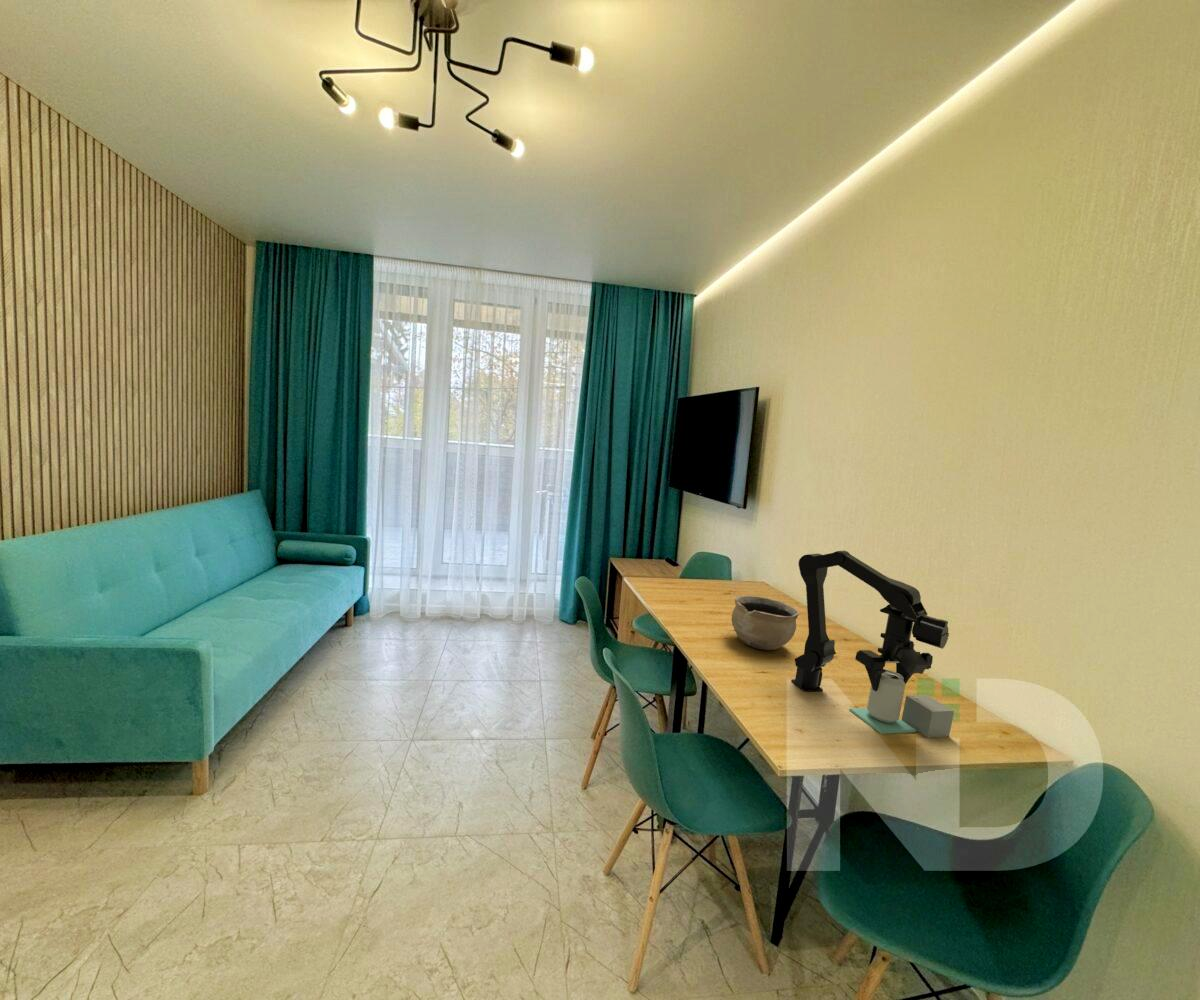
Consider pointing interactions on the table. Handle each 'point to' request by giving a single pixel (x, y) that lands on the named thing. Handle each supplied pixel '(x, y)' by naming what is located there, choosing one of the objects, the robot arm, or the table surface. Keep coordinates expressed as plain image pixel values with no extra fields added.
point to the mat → (882, 723)
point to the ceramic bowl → (763, 622)
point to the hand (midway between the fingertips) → (886, 690)
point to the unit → (927, 716)
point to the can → (887, 697)
